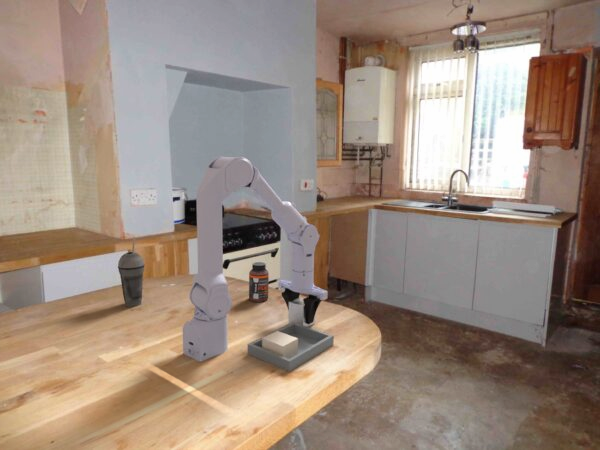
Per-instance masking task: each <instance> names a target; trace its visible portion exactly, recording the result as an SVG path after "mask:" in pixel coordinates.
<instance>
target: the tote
mask: <svg viewBox="0 0 600 450" xmlns="http://www.w3.org/2000/svg"><path fill="white" fill-rule="evenodd" d="M276 331H279V332H282V333H285V334H287V335H290V336H293V337H296V338H298V354H297V355H295V356H293V357H291V358H290V359H288V358H286V357H283V356H281V355H278V354H276V353H273V352H271V351H268V350H266V349H263V348H262V338H264V337H266V336H268V335H270V334H272V333H274V332H276ZM334 341H335V340H334V335H333V334H330V333H326V332H323V331H321V330H318V329H314V328H312V327H310V326H309V327H306V326H303V325H300V324H297V323H294V322H293V323H291V324H289V323H288V324H287V325H285V326H283V327H281V328H279V329H277V330H274V331H272V332H271V333H269V334H266V335H265V336H261V337H260V338H258V339H256V340H254V341H251V342H250V343H248V344H247V354H248V355H249V356H252V357H254V358H256V359H259V360H261V361H263V362H266V363H268V364H271V365H272V366H274V367H277V368H279V369H282V370H284V371H286V372H289V373H290V372H291V371H293V370H296V369H297V368H299V367H300V366H301V365H303V364H305V363H306V362H308V361H310V360H311V359H313V358H315V357H316V356H318V355H320V354H321V353H322V352H324V351H326V350H328V349H329V348H330V347H332V346H334Z"/></svg>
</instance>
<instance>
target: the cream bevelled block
mask: <svg viewBox="0 0 600 450" xmlns="http://www.w3.org/2000/svg"><path fill="white" fill-rule="evenodd" d="M275 331H276V332H275ZM275 331H273V332H274V333H272V332H271V333H272V334H270V333H269V334H270V335H268V334H267V335H268V336H266V335H265V336H266V337H264V336H263V337H264V338H262V337H261V338H262V348H263V349H266V350H268V351H271V352H273V353H276V354H278V355H281V356H283V357H286V358H288V359H290V358H291V357H293V356H295V355H297V354H298V338H296V337H293V336H290V335H287V334H285V333H282V332H279V331H277V330H275Z"/></svg>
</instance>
